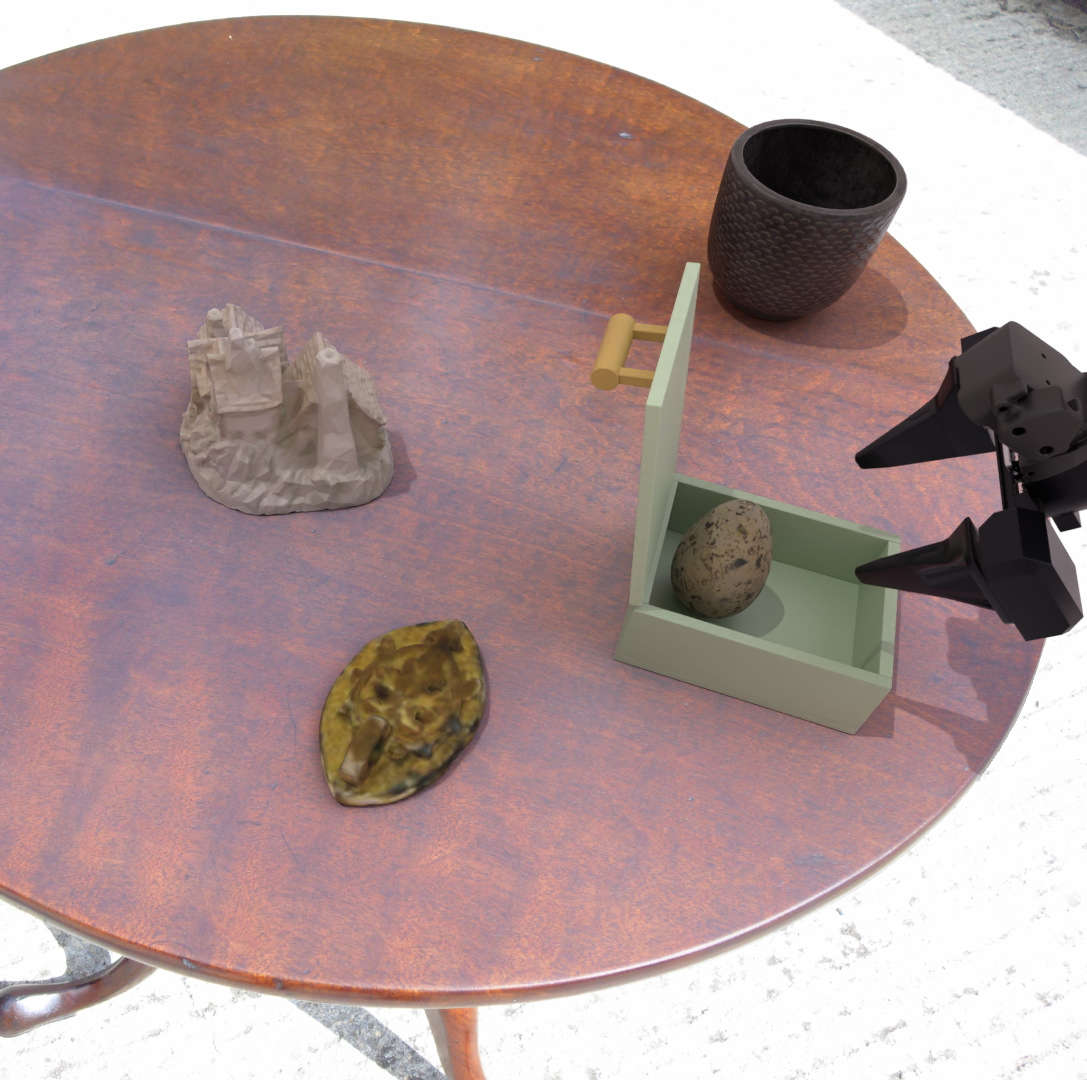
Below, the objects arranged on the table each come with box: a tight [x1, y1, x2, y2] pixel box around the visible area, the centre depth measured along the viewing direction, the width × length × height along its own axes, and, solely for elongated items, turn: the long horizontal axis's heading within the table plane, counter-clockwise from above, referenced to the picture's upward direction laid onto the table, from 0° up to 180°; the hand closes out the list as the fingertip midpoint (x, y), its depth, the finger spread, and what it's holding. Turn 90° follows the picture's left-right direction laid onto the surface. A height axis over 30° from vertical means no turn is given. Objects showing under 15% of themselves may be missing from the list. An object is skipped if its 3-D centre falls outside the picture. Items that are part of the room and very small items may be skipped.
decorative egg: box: [671, 499, 773, 619], centre depth 69 cm, size 6×6×10 cm
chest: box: [613, 471, 902, 736], centre depth 71 cm, size 16×13×6 cm
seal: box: [318, 618, 487, 807], centre depth 66 cm, size 9×5×15 cm
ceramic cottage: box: [178, 302, 395, 516], centre depth 77 cm, size 16×16×15 cm
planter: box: [706, 118, 908, 322], centre depth 91 cm, size 14×14×13 cm
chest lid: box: [589, 261, 702, 606], centre depth 64 cm, size 16×13×4 cm
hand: (857, 516), depth 63 cm, fingers open, 9 cm apart
